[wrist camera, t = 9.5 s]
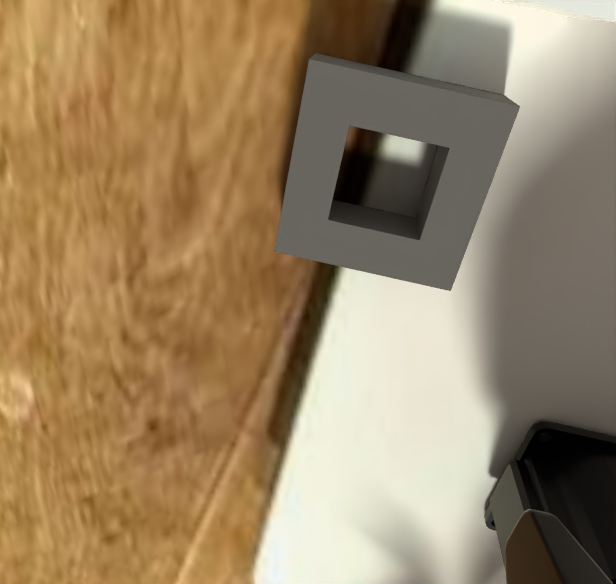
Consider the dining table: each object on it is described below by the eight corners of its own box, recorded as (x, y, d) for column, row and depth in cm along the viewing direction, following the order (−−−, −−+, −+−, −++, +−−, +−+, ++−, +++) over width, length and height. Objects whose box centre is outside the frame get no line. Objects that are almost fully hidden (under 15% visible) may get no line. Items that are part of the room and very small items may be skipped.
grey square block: (504, 95, 17) (519, 106, 15) (443, 264, 20) (450, 291, 18) (315, 53, 17) (309, 59, 15) (282, 229, 20) (274, 251, 18)
